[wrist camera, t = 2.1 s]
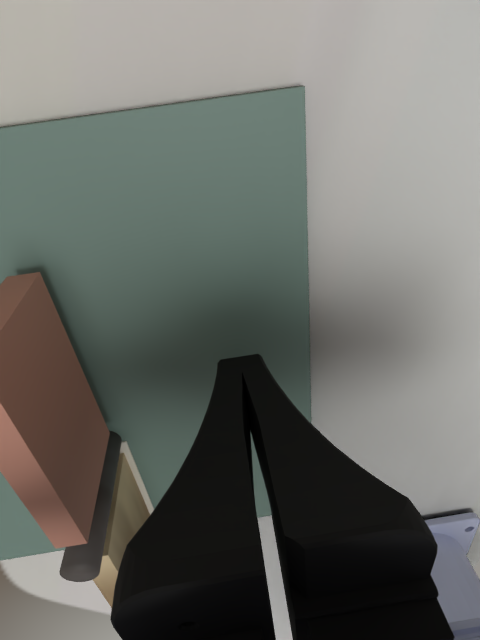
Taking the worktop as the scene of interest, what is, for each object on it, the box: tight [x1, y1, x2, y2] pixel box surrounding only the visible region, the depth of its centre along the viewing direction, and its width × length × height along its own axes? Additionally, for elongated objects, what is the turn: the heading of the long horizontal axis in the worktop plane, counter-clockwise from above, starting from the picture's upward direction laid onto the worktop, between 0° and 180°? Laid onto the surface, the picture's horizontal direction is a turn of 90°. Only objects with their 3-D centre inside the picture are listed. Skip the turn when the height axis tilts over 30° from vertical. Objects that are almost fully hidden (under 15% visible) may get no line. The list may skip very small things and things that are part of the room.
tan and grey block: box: [60, 431, 150, 608], centre depth 16 cm, size 8×9×5 cm
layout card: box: [0, 86, 311, 560], centre depth 15 cm, size 18×17×1 cm
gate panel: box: [0, 272, 110, 549], centre depth 11 cm, size 7×1×4 cm, turn 6°
